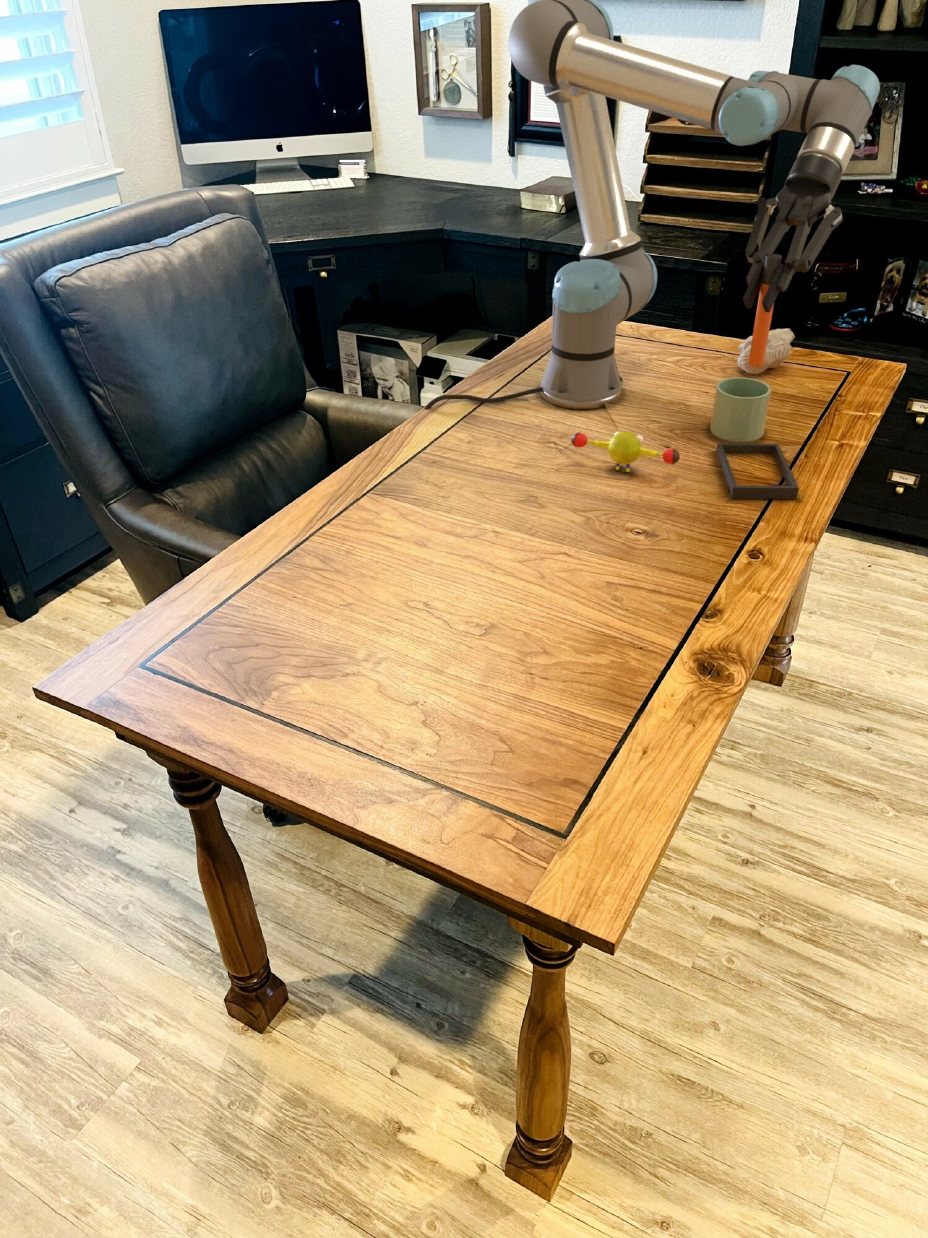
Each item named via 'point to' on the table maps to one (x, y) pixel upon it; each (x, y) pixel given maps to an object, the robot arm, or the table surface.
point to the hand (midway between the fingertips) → (756, 305)
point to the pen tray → (758, 491)
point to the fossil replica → (767, 351)
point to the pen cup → (740, 409)
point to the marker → (763, 313)
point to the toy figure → (625, 449)
